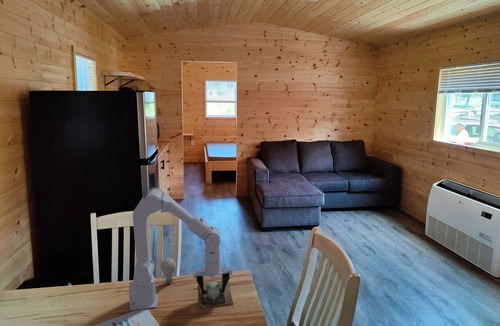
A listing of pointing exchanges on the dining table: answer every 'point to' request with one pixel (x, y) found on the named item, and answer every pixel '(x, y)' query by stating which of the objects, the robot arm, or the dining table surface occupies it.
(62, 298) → the dining table surface
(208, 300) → the dark grey square frame
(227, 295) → the board
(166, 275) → the lightbulb
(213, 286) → the pale green pear shape
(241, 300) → the dining table surface
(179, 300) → the dining table surface
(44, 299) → the dining table surface
